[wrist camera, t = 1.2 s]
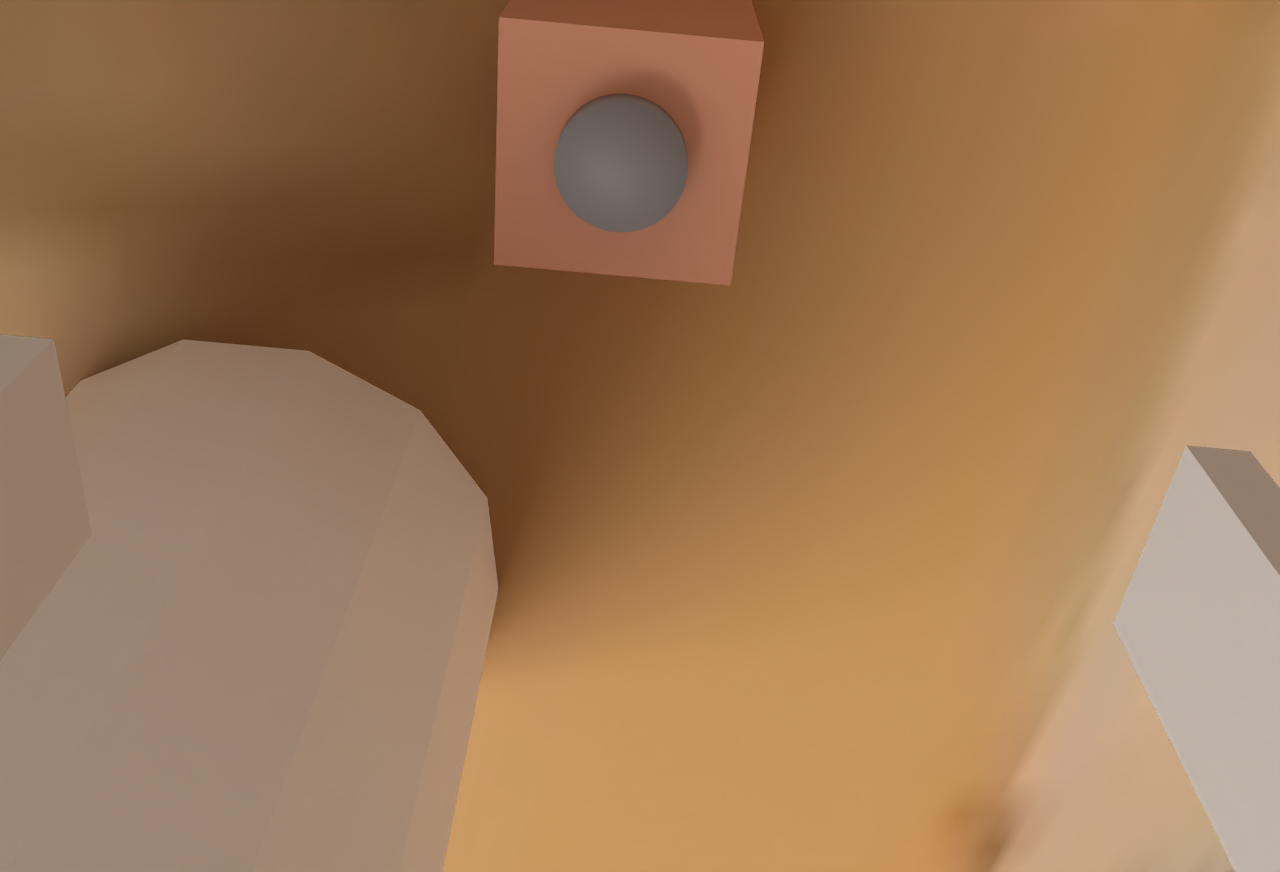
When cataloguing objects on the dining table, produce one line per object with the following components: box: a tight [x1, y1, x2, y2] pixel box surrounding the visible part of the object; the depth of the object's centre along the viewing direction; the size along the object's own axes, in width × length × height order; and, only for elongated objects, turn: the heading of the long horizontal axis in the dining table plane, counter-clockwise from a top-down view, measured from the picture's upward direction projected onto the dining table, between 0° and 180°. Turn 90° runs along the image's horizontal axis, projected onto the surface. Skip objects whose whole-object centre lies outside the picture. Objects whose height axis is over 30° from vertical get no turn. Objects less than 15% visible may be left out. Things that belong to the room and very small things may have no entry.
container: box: [0, 340, 499, 872], centre depth 28 cm, size 14×14×18 cm
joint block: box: [494, 0, 764, 286], centre depth 25 cm, size 5×5×7 cm
